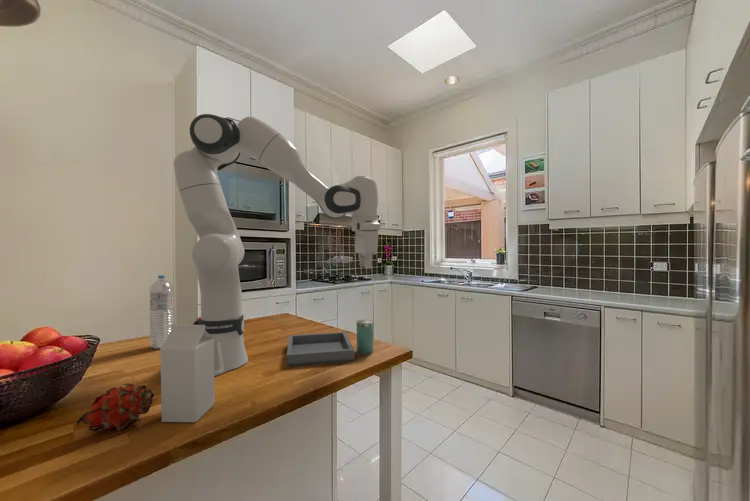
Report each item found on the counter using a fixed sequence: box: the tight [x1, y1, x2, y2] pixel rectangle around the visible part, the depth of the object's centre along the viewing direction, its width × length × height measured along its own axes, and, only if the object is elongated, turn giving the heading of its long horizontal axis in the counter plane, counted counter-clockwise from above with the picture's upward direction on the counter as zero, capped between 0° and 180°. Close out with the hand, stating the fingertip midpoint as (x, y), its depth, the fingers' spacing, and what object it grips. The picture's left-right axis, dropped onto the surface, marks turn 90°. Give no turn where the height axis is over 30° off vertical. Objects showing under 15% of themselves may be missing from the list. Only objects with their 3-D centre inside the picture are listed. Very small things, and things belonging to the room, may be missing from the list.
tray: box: [286, 331, 355, 368], centre depth 103 cm, size 20×20×4 cm
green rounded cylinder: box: [356, 319, 374, 355], centre depth 104 cm, size 6×6×10 cm
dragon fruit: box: [76, 382, 156, 433], centre depth 62 cm, size 8×8×12 cm
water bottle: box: [149, 274, 175, 350], centre depth 109 cm, size 7×7×25 cm
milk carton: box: [159, 324, 216, 423], centre depth 66 cm, size 7×7×19 cm
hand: (365, 267), depth 104 cm, fingers open, 8 cm apart
